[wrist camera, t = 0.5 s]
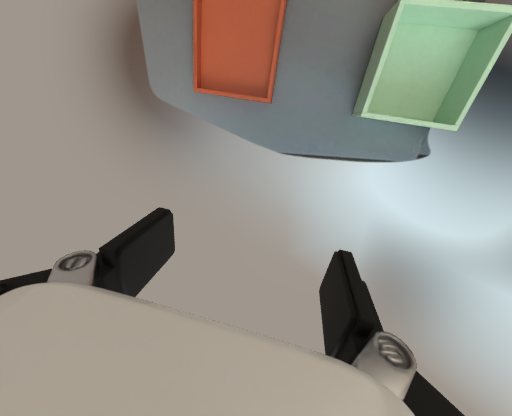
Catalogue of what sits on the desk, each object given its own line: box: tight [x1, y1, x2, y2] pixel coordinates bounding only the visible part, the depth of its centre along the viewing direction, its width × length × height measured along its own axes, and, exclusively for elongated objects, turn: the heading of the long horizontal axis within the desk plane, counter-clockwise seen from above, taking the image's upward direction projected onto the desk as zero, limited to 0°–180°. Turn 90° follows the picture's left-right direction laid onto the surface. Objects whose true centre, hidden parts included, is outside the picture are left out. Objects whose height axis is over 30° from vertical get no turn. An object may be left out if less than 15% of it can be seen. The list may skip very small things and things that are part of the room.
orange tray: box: [193, 0, 287, 103], centre depth 30 cm, size 16×13×2 cm
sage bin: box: [352, 0, 512, 131], centre depth 27 cm, size 12×12×6 cm
